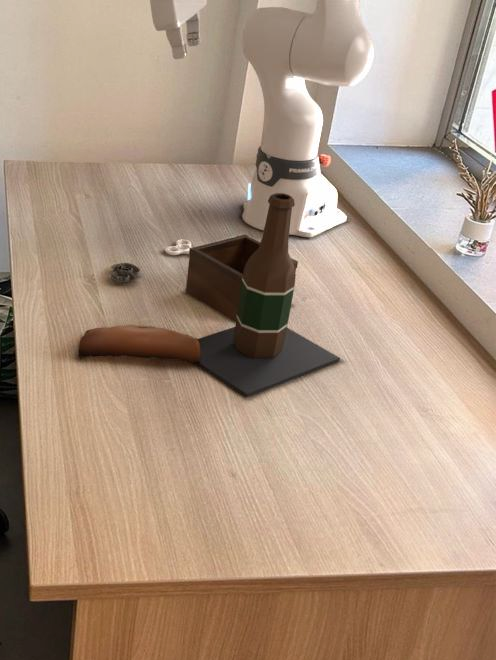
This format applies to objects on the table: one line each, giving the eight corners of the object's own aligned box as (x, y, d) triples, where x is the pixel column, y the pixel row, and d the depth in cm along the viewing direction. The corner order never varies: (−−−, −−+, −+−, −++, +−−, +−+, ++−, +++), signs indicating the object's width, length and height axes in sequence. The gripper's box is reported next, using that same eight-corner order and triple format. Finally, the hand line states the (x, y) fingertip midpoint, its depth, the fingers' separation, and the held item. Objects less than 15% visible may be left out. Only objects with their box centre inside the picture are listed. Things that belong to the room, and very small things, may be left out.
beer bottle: (279, 363, 143) (307, 210, 129) (228, 354, 143) (251, 200, 130) (285, 340, 149) (312, 191, 135) (236, 331, 150) (258, 183, 136)
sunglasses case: (200, 336, 146) (203, 313, 140) (198, 377, 143) (202, 355, 137) (82, 330, 145) (80, 307, 139) (78, 370, 142) (76, 349, 136)
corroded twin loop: (105, 284, 160) (105, 279, 160) (113, 265, 167) (113, 260, 166) (134, 288, 160) (134, 283, 160) (141, 269, 167) (142, 264, 166)
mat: (266, 319, 156) (267, 316, 155) (339, 361, 146) (340, 357, 146) (173, 349, 144) (174, 346, 144) (246, 397, 135) (247, 394, 134)
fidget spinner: (180, 241, 179) (180, 237, 178) (210, 250, 177) (211, 246, 176) (162, 253, 174) (162, 249, 173) (193, 262, 171) (194, 258, 171)
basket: (238, 276, 169) (245, 234, 164) (290, 305, 161) (298, 261, 156) (184, 292, 161) (189, 248, 157) (236, 323, 154) (242, 277, 149)
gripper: (176, -46, 127) (192, 63, 134) (207, -62, 143) (221, 35, 150) (131, -38, 129) (150, 69, 136) (167, -55, 145) (182, 41, 152)
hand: (187, 51), depth 143 cm, fingers open, 8 cm apart
